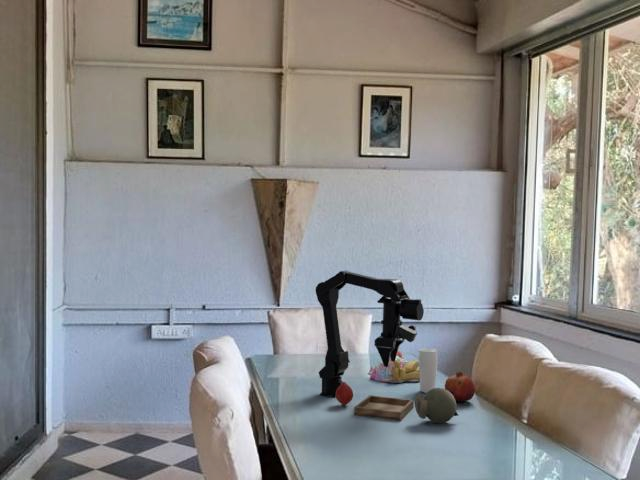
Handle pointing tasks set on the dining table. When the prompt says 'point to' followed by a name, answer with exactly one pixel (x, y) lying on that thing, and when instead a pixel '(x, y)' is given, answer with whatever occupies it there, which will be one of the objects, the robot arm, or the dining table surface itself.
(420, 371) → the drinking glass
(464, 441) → the dining table surface
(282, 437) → the dining table surface
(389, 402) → the tray
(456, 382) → the fruit
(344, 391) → the onion
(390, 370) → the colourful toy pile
